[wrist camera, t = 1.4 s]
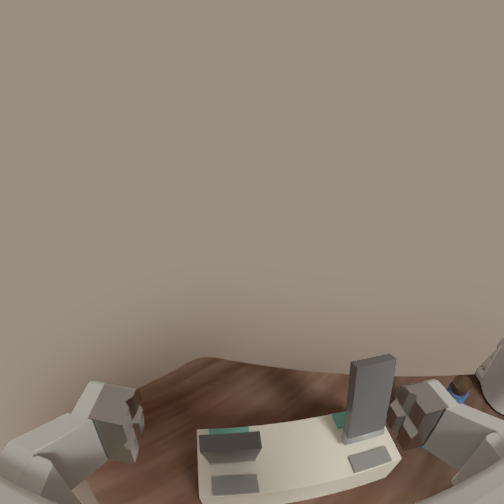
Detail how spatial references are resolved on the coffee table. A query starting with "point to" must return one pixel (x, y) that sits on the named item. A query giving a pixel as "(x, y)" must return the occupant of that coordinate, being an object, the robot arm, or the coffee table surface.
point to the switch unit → (296, 463)
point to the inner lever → (368, 398)
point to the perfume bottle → (459, 389)
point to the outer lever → (230, 447)
